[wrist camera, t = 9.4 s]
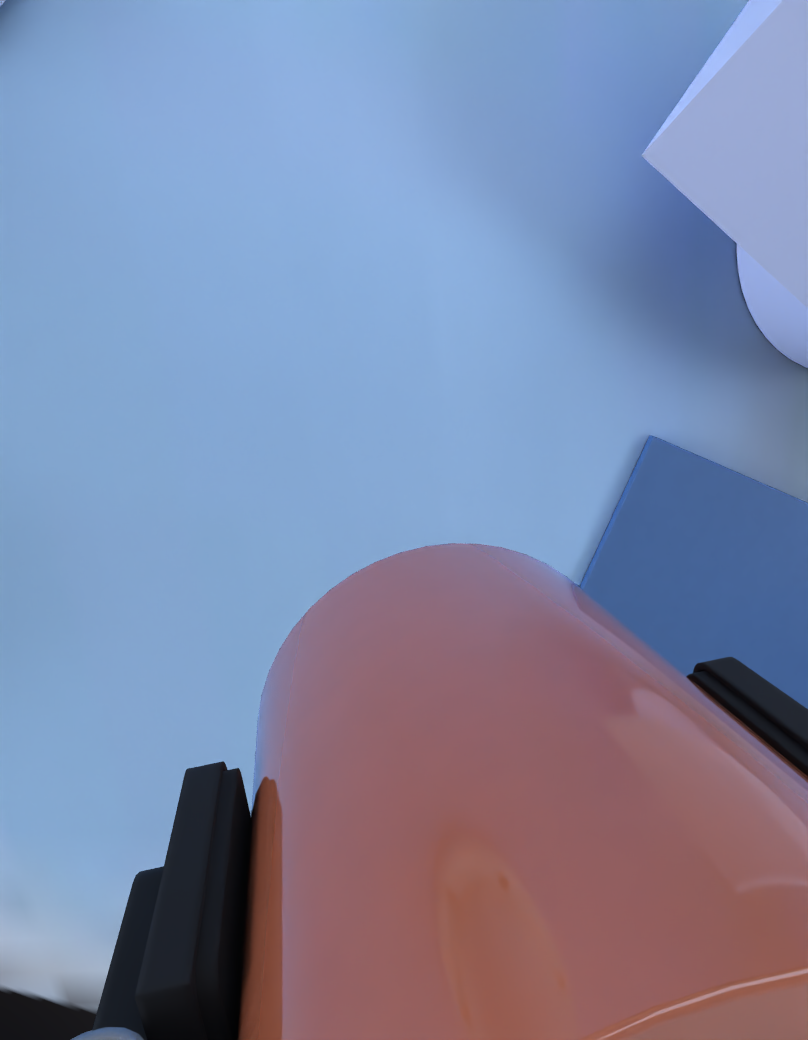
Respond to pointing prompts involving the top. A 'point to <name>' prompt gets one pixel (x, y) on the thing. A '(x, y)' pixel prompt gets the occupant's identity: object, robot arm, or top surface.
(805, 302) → the wedge on round base
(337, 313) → the top surface
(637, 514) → the blue rectangular mat
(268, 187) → the top surface
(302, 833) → the mug
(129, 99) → the top surface
